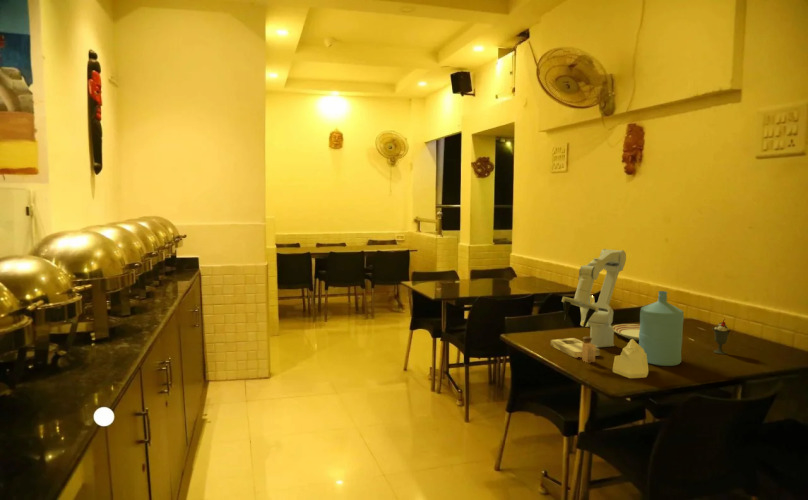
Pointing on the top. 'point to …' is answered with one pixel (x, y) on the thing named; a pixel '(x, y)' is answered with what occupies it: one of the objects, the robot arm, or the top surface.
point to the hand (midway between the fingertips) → (574, 323)
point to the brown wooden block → (588, 352)
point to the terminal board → (572, 346)
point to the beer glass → (584, 312)
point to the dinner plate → (628, 331)
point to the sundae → (721, 336)
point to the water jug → (661, 332)
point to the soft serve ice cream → (631, 361)
